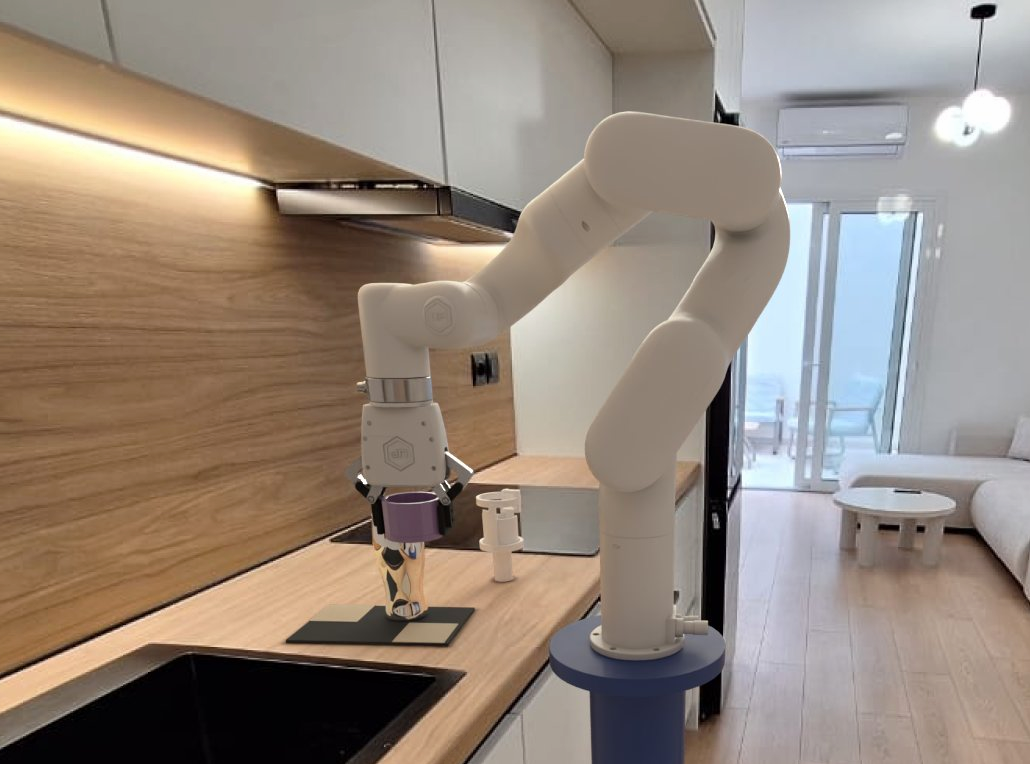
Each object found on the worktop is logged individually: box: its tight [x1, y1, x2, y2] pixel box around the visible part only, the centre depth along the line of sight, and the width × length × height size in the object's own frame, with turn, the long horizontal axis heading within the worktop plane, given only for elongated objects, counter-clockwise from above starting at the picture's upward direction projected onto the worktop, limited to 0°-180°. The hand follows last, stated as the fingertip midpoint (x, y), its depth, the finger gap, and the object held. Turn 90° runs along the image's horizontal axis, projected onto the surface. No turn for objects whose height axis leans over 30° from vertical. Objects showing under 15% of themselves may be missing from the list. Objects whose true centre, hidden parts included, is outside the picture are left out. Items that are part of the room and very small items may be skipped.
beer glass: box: [370, 513, 429, 621], centre depth 114 cm, size 7×7×15 cm
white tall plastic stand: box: [475, 488, 525, 583], centre depth 131 cm, size 7×7×15 cm
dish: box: [381, 491, 443, 543], centre depth 105 cm, size 7×7×5 cm
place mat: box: [285, 603, 476, 647], centre depth 114 cm, size 22×14×1 cm, turn 87°
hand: (415, 531), depth 105 cm, fingers closed on dish, 7 cm apart
